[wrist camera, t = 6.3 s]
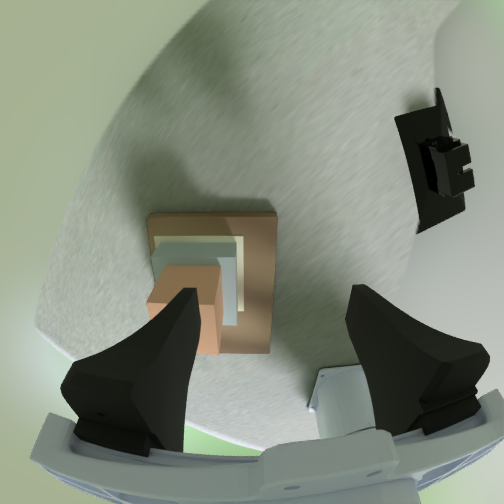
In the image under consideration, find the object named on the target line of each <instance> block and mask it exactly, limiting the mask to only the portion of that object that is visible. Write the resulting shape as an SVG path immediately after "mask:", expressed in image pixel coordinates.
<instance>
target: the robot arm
mask: <svg viewBox="0 0 504 504" xmlns="http://www.w3.org/2000/svg"><path fill="white" fill-rule="evenodd" d="M345 320H346V324H347V329H348V332H349V336H350V339H351V341H352V344H353V346H354V349H355V351H356V354H357V356H358V358H359V361H360V363H361V365H354V366H345V367H335V368H324V369H321V370H320V371H319V373H318V377H317V380H316V384H315V387H314V391H313V394H312V397H311V401H310V404H309V407H308V412H315V413H316V419H317V424H318V430H319V436H320V439H317V440H308V441H298V442H291V443H285V444H279V445H276V446H273V447H271V448H268V449H266V450H265V451H263V453H262V454H261V455H260V456H218V455H203V454H192V453H183V440H184V423H185V411H186V401H187V393H188V385H189V380H190V376H191V372H192V368H193V364H194V360H195V356H196V352H197V348H198V344H199V339H200V331H201V316H200V309H199V302H198V294H197V288H185V287H184V288H183V289H182V290H181V291H180V292H179V293H178V294H177V295H176V296H175V297H174V298H173V299H172V300H171V301H170V302H169V303H168V304H167V305H166V306H165V307H164V308H163V309H162V310H161V311H160V312H159V313H158V314H157V315H156V316H155V317H154V318H152V319H151V320H150V321H149V322H148V323H147V324H146V325H144V326H143V327H142V328H140V329H139V330H138V331H136V332H135V333H133V334H132V335H131V336H129V337H127V338H126V339H124V340H122V341H121V342H119V343H117V344H116V345H114V346H112V347H110V348H108V349H106V350H104V351H102V352H99V353H97V354H95V355H92V356H89V357H87V358H84V359H81V360H78V361H75V362H73V364H72V366H71V368H70V370H69V371H68V373H67V375H66V377H65V379H64V380H63V382H62V384H61V388H60V389H61V393H62V395H63V397H64V399H65V400H66V402H67V403H68V404H69V405H70V407H71V408H72V409H73V411H74V412H75V413H76V414H77V415H78V417H79V419H78V422H77V424H76V423H75V422H73V421H72V420H70V419H67V418H65V417H62V416H59V415H56V414H53V413H49V414H48V416H47V418H46V420H45V422H44V424H43V426H42V429H41V431H40V433H39V435H38V438H37V440H36V443H35V445H34V447H33V450H32V452H31V455H30V459H31V460H32V461H33V462H34V463H36V464H37V465H38V466H40V467H41V468H42V469H44V470H45V471H47V472H48V473H49V474H51V475H52V476H54V477H55V478H57V479H58V480H60V481H61V482H63V483H65V484H67V485H70V486H72V487H74V488H76V489H79V490H81V491H84V492H86V493H88V494H91V495H94V496H96V497H99V498H102V499H104V500H107V501H110V502H113V503H116V504H421V502H420V498H419V495H418V491H421V490H423V489H425V488H427V487H429V486H431V485H433V484H435V483H437V482H440V481H441V480H443V479H445V478H447V477H449V476H451V475H453V474H455V473H456V472H458V471H460V470H462V469H464V468H465V467H467V466H469V465H470V464H472V463H474V462H475V461H477V460H479V459H480V458H482V457H483V456H485V455H487V454H488V453H489V452H490V451H492V450H493V449H494V448H495V447H496V446H497V445H498V444H500V443H501V442H502V441H503V440H504V399H503V397H502V396H501V394H500V392H499V391H498V389H495V390H493V391H491V392H489V393H487V394H485V395H483V396H481V397H480V398H479V399H478V400H477V398H476V396H475V395H476V394H477V392H478V390H477V388H476V387H475V385H476V384H477V382H478V381H479V379H480V378H481V377H482V375H483V374H484V372H485V370H486V369H487V367H488V365H489V362H490V356H489V354H488V353H487V351H486V350H485V348H484V347H483V346H482V344H480V343H476V342H471V341H467V340H463V339H459V338H456V337H453V336H450V335H447V334H445V333H442V332H440V331H438V330H435V329H433V328H431V327H429V326H427V325H425V324H423V323H421V322H419V321H417V320H416V319H414V318H412V317H410V316H409V315H408V314H406V313H404V312H403V311H401V310H400V309H399V308H397V307H395V306H394V305H393V304H391V303H390V302H389V301H387V300H386V299H385V298H383V297H382V296H381V295H379V294H378V293H376V292H375V291H374V290H372V289H371V288H369V287H368V286H366V285H365V284H360V285H352V290H351V295H350V300H349V304H348V309H347V313H346V317H345Z"/></svg>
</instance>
